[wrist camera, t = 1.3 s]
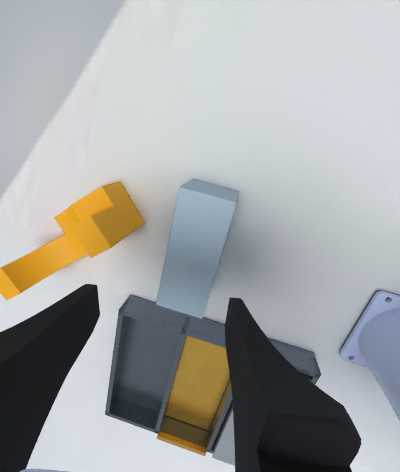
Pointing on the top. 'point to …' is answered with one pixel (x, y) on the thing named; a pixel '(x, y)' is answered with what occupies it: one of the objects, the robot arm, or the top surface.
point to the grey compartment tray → (180, 377)
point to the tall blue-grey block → (195, 246)
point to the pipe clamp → (76, 237)
